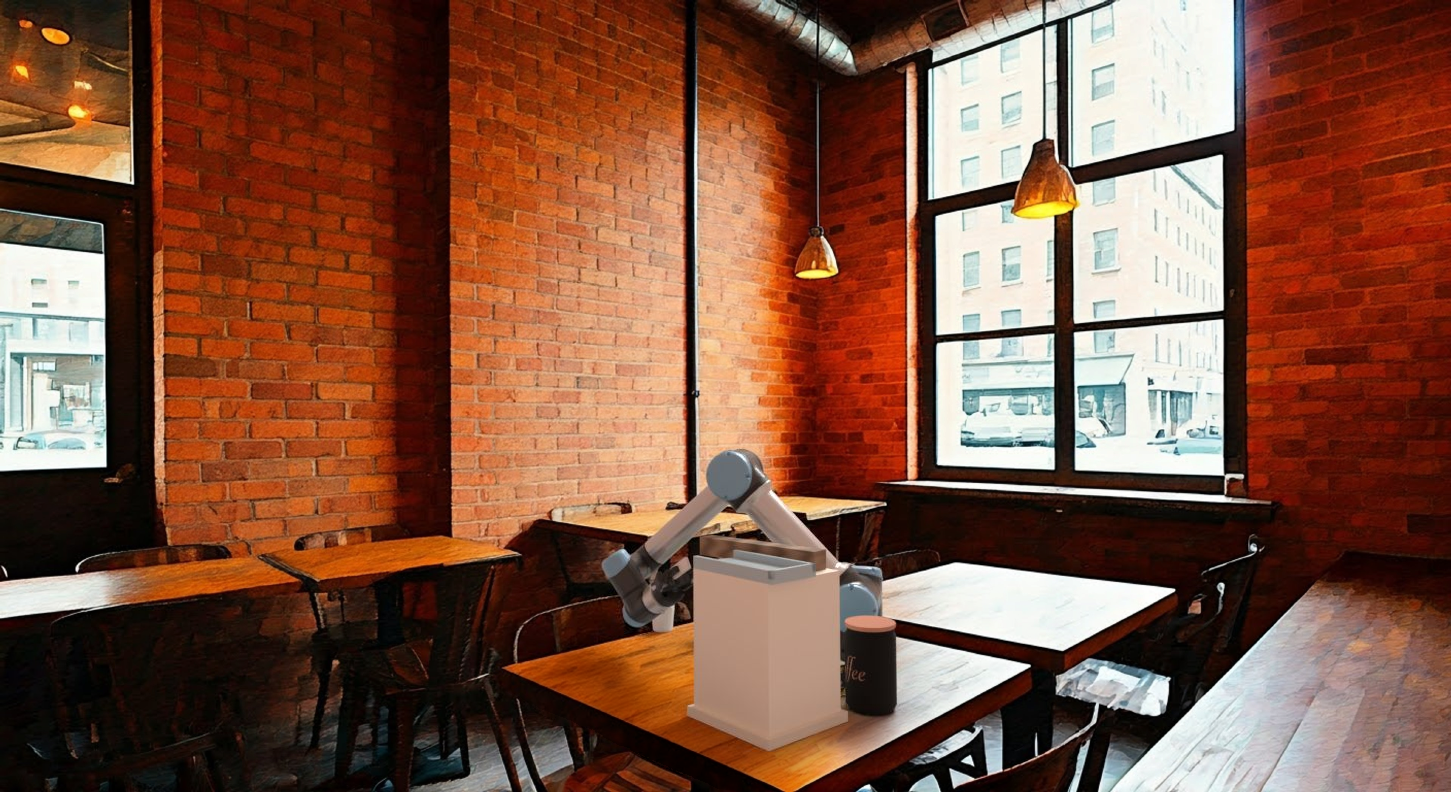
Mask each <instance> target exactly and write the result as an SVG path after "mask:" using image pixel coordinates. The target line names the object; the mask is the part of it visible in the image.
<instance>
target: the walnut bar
mask: <svg viewBox="0 0 1451 792" xmlns="http://www.w3.org/2000/svg"><path fill="white" fill-rule="evenodd" d="M826 549H827V548H826ZM826 549H819V548H811V547H803V546H795V545H787V544H779V543H773V542H772V541H771V542H770V541H763V540H755V539H747V538H737V537H731V536H724V535H723V536H722V535H714V534H709V535H704V536H700V537H699V556H705V557H711V558H731V557H733V550H742V551H747V552H753V553H759V554H764V555H770V556H776V557H782V558H787V559H793V560H799V561H804V562H810V563H816V572H817V571H821V570H825V569H826Z"/></svg>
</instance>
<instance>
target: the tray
mask: <svg viewBox="0 0 1451 792" xmlns="http://www.w3.org/2000/svg"><path fill="white" fill-rule="evenodd" d="M692 557H693V559H692V561H693V564H692V565H693V566H692V567H693V568H695V569H699V570H704V571H709V572H713V573H718V574H723V575H727V576H732V577H737V578H741V579H746V580H751V581H755V582H760V583H764V584H769V585H775V584H780V583H785V582H790V581H795V580H800V579H806V578H811V577H816V563H810V562H804V561H799V560H793V559H787V558H782V557H776V556H770V555H764V554H759V553H753V552H747V551H742V550H733V557H731V558H725V559H718V558H714V557H709V556H703V555H693V556H692ZM693 568H692V569H693Z"/></svg>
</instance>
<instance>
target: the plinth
mask: <svg viewBox="0 0 1451 792" xmlns="http://www.w3.org/2000/svg"><path fill="white" fill-rule="evenodd" d="M692 569H693V581H694V586H693V703H692V704H689V705H687V707H686V713H687V714H686V717H689V718H692V719H694V720H696V721H698V722H701V723H704V724H706V725H707V726H710V727H712V728H714V729H717V730H719V731H721V732H724V733H726V734H728V735H730V736H733V737H735V738H736V739H737V738H738V739H740V740H741V741H744V742H747V743H749V744H751V745H753V746H756V747H757V748H760V749H762V750H764V751H767V752H771V751H774V750H777V749H779V748H781V747H784V746H787V745H789V744H793V743H794V742H795V743H796V742H797V741H800V740H802V739H803V740H804V739H806V738H808V737H812V736H813V735H816V734H819V733H821V732H824V731H826V730H830V729H832V728H834V727H837V726H840V725H841V724H842V725H843V724H844V723H845V724H846V723H847V722H849V711H848V710H846V709H842V707H841V702H842V700H841V697H842V696H841V687H840V585H839V570H833V569H828V568H826V569H825V570H821V571H817V572H816V577H811V578H806V579H800V580H795V581H790V582H785V583H780V584H775V585H769V584H764V583H760V582H755V581H751V580H746V579H741V578H737V577H732V576H727V575H723V574H718V573H713V572H709V571H704V570H699V569H695V568H692Z"/></svg>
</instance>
